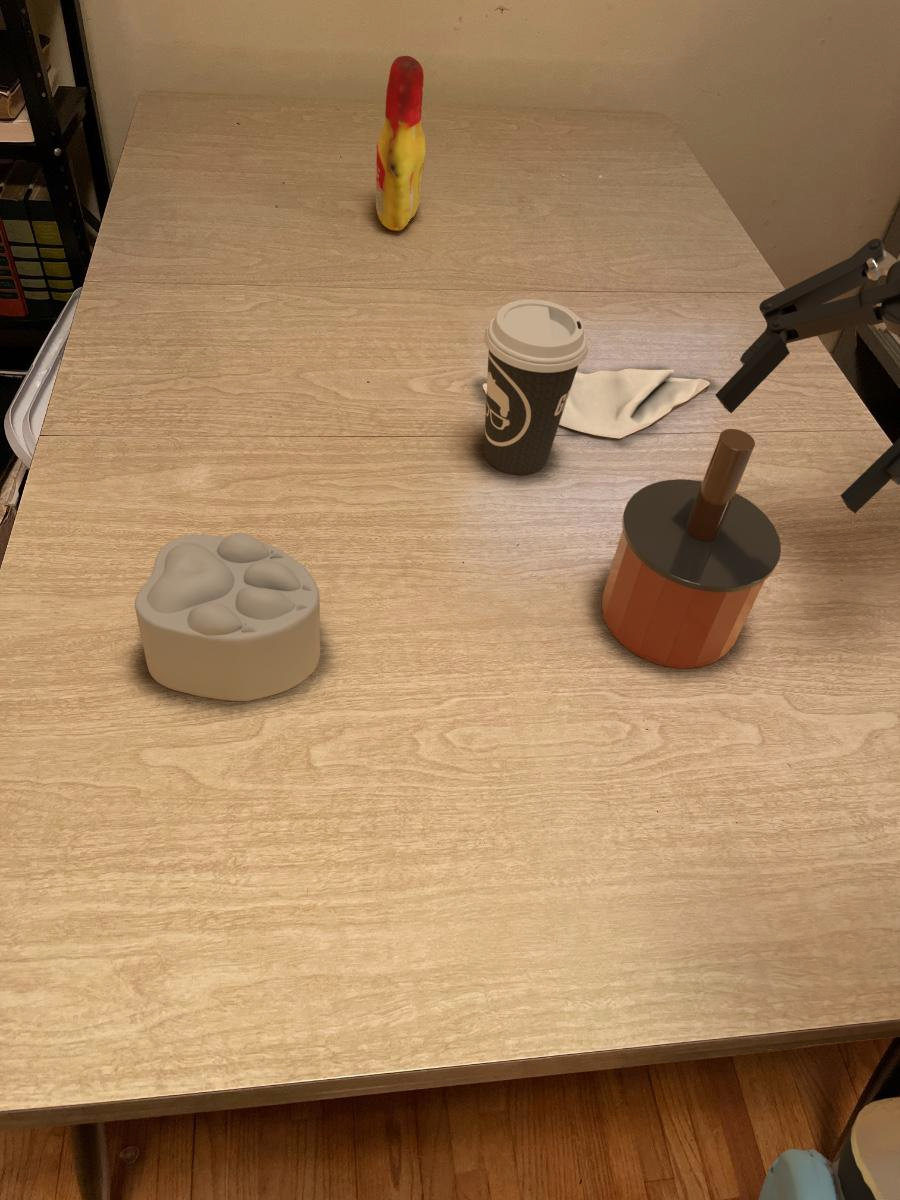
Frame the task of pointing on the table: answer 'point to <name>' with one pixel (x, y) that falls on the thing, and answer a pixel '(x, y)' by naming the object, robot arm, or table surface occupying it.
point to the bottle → (401, 146)
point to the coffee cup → (529, 381)
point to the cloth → (623, 400)
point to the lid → (705, 525)
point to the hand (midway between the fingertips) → (781, 452)
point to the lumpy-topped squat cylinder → (229, 618)
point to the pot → (670, 614)
